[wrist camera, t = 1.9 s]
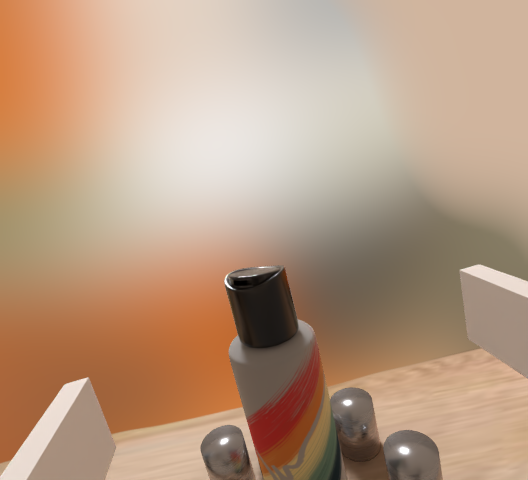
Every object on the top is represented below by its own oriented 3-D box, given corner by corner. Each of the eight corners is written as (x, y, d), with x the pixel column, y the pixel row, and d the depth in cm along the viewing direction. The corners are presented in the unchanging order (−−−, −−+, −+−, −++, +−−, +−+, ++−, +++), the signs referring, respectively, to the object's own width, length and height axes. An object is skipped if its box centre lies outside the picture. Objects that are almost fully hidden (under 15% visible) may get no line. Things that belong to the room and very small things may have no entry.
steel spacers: (201, 538, 27) (184, 491, 26) (232, 423, 38) (221, 387, 37) (454, 524, 24) (447, 470, 23) (407, 403, 35) (401, 363, 34)
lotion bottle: (266, 548, 25) (188, 288, 21) (295, 478, 30) (236, 255, 26) (345, 577, 22) (274, 285, 18) (363, 495, 27) (311, 248, 23)
